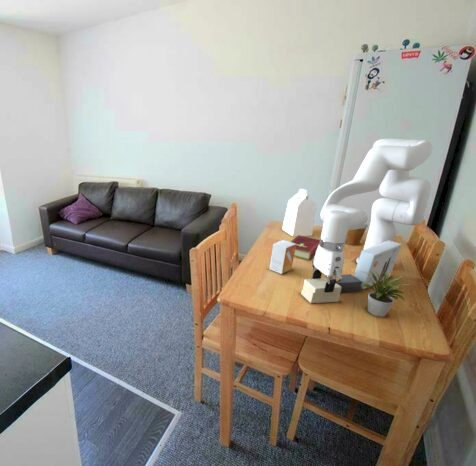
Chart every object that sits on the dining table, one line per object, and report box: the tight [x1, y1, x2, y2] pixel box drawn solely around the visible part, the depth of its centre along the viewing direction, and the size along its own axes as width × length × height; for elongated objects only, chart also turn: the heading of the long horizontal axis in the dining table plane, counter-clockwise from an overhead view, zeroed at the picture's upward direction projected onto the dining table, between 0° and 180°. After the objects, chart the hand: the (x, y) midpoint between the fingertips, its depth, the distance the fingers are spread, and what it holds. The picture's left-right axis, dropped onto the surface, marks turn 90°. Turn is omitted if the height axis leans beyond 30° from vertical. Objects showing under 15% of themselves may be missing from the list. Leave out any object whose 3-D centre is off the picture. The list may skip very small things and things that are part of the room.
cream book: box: [303, 277, 342, 294], centre depth 119 cm, size 10×7×2 cm
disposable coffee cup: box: [345, 221, 369, 246], centre depth 166 cm, size 10×10×12 cm
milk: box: [281, 188, 317, 237], centre depth 180 cm, size 12×12×26 cm
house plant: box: [359, 270, 410, 317], centre depth 108 cm, size 14×14×16 cm
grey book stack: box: [324, 273, 362, 293], centre depth 126 cm, size 11×6×4 cm, turn 93°
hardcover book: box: [289, 235, 320, 261], centre depth 161 cm, size 12×21×4 cm, turn 135°
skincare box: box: [353, 240, 403, 290], centre depth 128 cm, size 21×6×16 cm, turn 118°
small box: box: [269, 239, 296, 275], centre depth 141 cm, size 8×6×13 cm
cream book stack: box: [300, 284, 341, 304], centre depth 120 cm, size 11×6×4 cm, turn 93°
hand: (321, 286), depth 119 cm, fingers closed on cream book, 7 cm apart
